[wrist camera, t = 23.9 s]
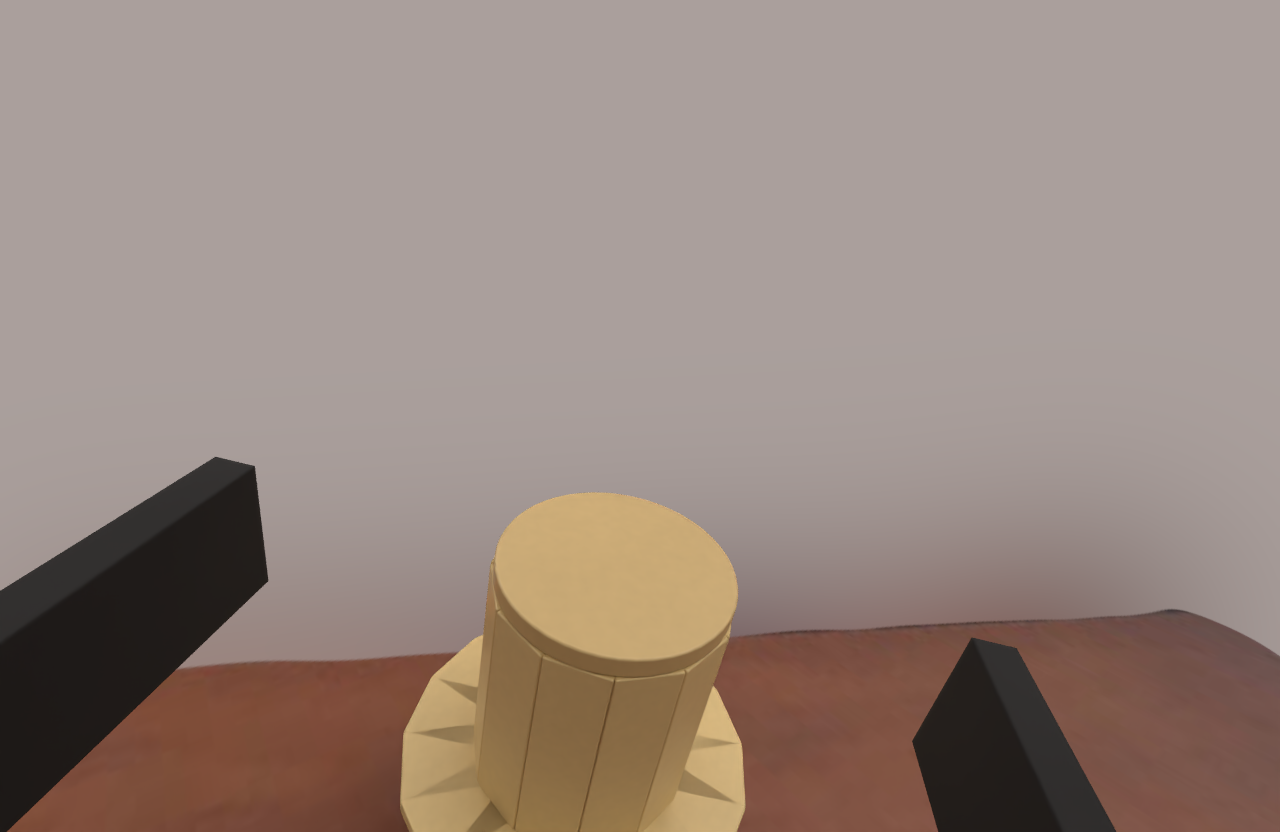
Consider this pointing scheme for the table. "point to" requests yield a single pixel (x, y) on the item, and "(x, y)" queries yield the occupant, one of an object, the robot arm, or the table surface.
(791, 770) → the table surface
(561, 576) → the hat
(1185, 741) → the table surface
